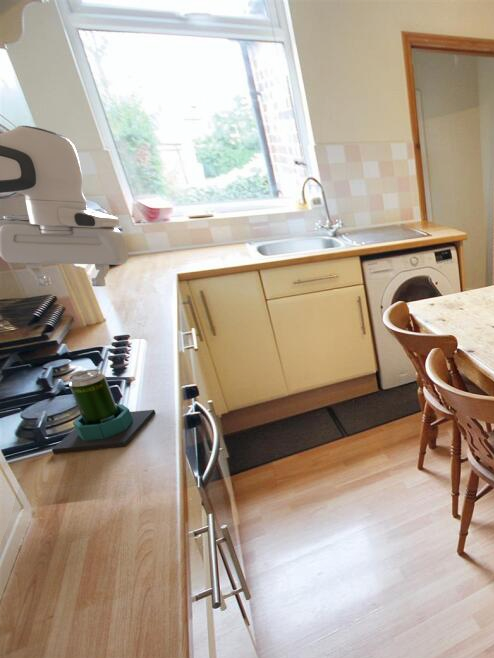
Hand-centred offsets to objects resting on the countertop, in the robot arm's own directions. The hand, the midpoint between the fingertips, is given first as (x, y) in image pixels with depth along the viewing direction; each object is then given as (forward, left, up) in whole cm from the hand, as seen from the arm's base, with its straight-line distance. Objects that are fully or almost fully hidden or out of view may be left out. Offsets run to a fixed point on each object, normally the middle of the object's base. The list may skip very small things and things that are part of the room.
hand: (72, 285), depth 96 cm
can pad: (+6, -15, -26) cm, 31 cm away
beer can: (+6, -15, -26) cm, 31 cm away
